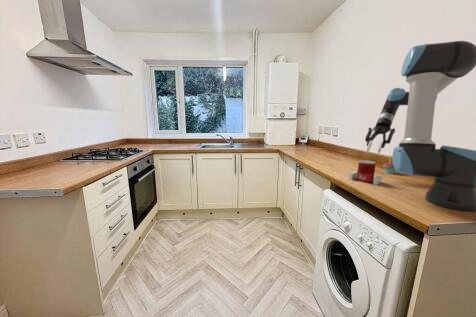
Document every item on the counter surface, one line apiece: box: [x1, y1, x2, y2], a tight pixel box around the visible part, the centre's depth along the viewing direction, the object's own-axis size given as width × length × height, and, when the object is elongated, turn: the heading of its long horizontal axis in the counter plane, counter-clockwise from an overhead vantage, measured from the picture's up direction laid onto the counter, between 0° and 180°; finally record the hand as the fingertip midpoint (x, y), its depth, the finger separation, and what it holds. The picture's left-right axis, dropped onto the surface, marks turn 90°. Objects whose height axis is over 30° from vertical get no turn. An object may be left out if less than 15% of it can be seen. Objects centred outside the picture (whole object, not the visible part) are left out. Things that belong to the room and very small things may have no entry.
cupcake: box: [382, 154, 397, 174], centre depth 132 cm, size 9×8×12 cm
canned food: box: [356, 159, 376, 183], centre depth 113 cm, size 8×8×11 cm
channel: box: [349, 170, 383, 186], centre depth 114 cm, size 9×13×4 cm
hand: (373, 150), depth 117 cm, fingers open, 5 cm apart
